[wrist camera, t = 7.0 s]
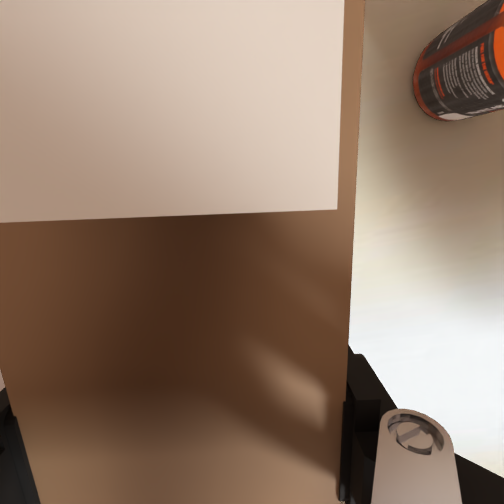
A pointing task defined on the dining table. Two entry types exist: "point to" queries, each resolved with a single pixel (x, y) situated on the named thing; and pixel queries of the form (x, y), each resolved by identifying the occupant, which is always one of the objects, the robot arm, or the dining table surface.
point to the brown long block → (186, 345)
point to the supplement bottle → (464, 67)
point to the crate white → (168, 107)
